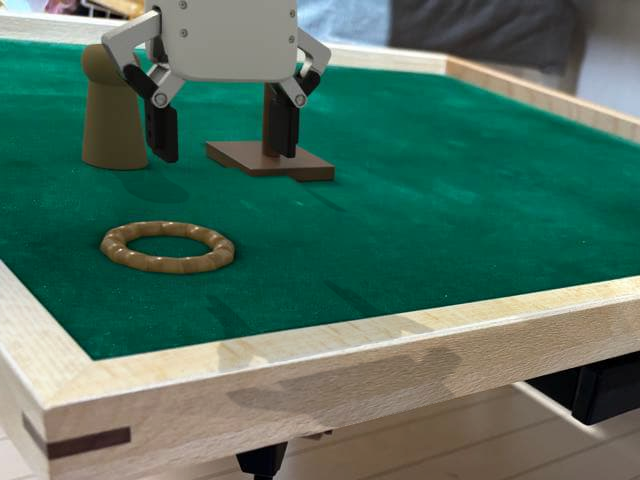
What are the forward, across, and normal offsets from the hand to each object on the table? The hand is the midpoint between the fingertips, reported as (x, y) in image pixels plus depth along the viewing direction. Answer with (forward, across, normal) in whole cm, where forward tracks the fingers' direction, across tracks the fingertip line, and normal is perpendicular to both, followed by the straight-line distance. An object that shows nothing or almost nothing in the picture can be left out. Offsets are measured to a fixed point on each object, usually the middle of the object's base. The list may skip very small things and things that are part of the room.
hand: (226, 155), depth 69 cm
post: (+8, -16, -22) cm, 29 cm away
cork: (+8, -1, -26) cm, 27 cm away
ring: (+7, +4, 0) cm, 9 cm away
